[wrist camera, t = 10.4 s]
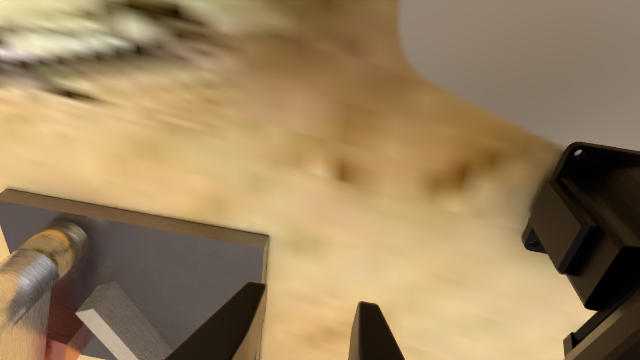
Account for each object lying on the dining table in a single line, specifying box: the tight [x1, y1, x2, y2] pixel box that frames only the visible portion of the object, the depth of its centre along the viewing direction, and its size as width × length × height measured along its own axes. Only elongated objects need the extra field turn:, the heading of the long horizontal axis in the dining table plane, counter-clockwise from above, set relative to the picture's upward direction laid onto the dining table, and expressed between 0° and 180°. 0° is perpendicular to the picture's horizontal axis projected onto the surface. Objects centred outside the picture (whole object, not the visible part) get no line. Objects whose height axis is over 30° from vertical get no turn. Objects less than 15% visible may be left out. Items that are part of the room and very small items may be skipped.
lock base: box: [0, 189, 269, 360], centre depth 27 cm, size 17×14×4 cm
